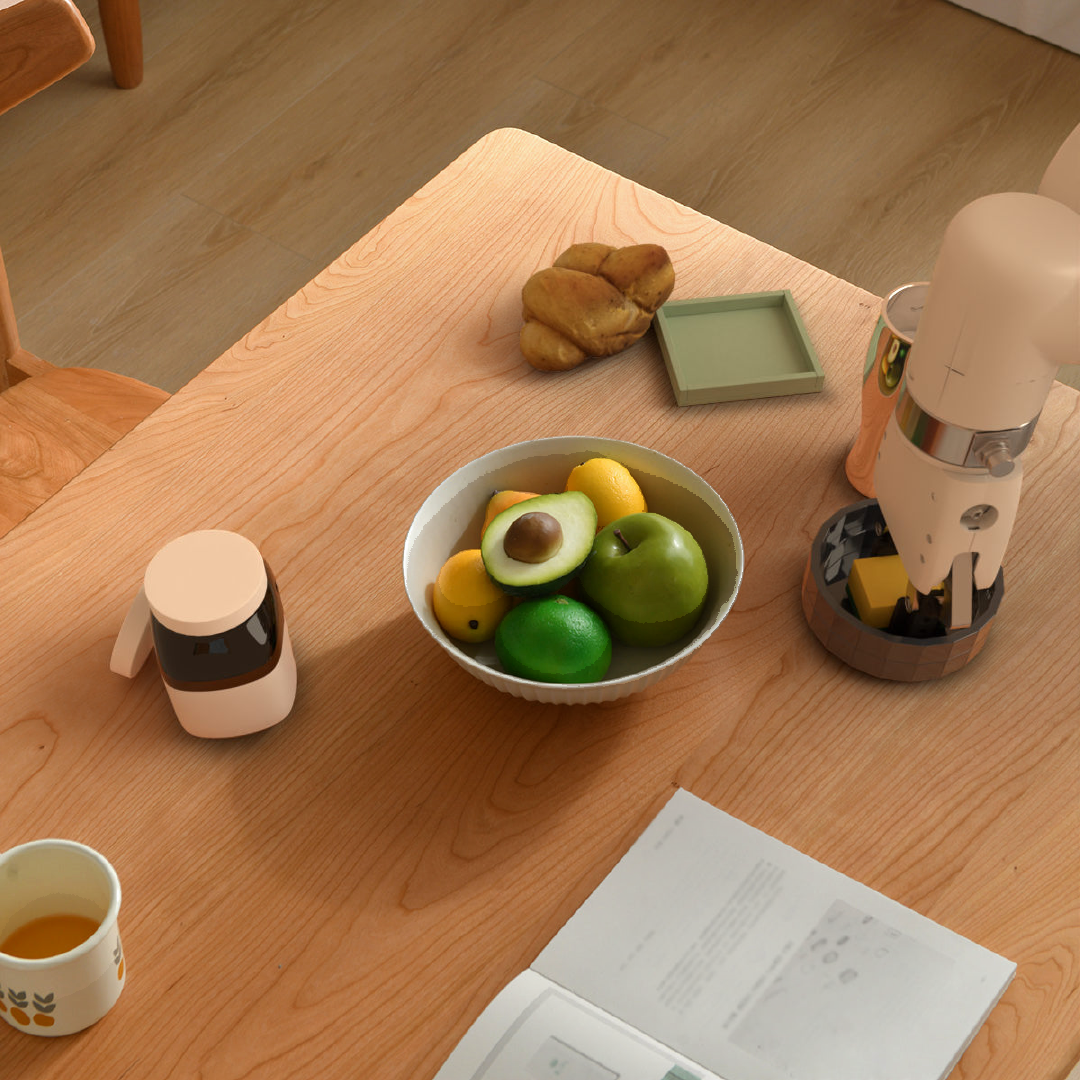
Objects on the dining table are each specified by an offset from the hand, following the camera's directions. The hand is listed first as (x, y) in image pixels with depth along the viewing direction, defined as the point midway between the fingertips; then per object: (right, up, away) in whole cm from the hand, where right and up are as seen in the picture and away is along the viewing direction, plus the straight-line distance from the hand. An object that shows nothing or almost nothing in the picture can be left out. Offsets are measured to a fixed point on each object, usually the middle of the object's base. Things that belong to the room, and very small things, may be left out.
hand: (899, 605), depth 89 cm
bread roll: (-20, +20, +19) cm, 35 cm away
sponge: (0, 0, 0) cm, 0 cm away
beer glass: (+2, +9, +10) cm, 13 cm away
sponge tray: (-8, +19, +18) cm, 27 cm away
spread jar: (-45, -5, -2) cm, 45 cm away
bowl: (0, 0, +2) cm, 2 cm away
